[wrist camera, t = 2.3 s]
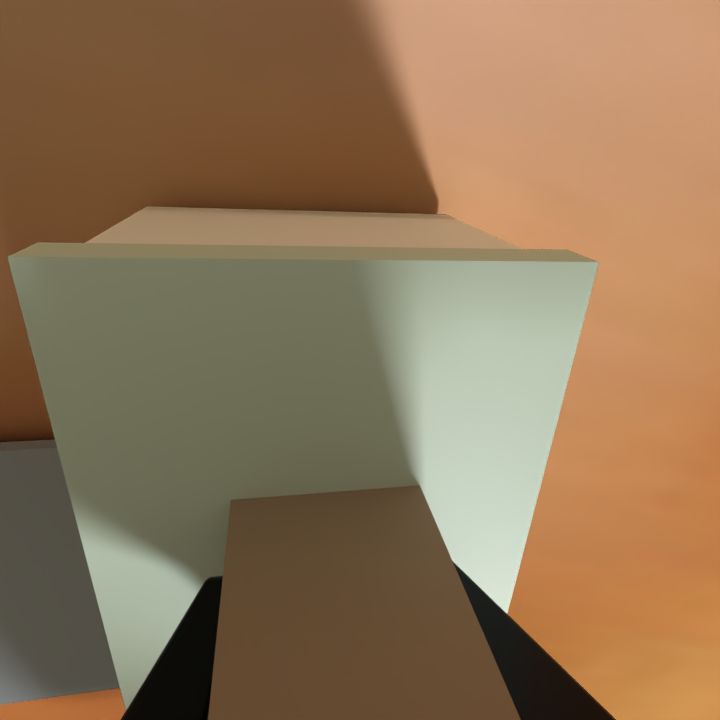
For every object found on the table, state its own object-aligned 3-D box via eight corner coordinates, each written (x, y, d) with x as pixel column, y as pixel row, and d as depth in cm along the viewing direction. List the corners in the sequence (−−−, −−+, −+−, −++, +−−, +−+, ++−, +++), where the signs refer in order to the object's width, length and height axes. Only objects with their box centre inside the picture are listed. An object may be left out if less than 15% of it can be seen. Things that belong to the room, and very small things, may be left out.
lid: (455, 636, 13) (584, 985, 7) (158, 676, 11) (65, 1132, 6) (534, 236, 8) (979, 409, 3) (66, 228, 7) (-512, 501, 2)
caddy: (409, 521, 16) (462, 670, 12) (191, 541, 15) (157, 716, 10) (445, 214, 12) (551, 262, 7) (146, 206, 11) (58, 258, 6)
